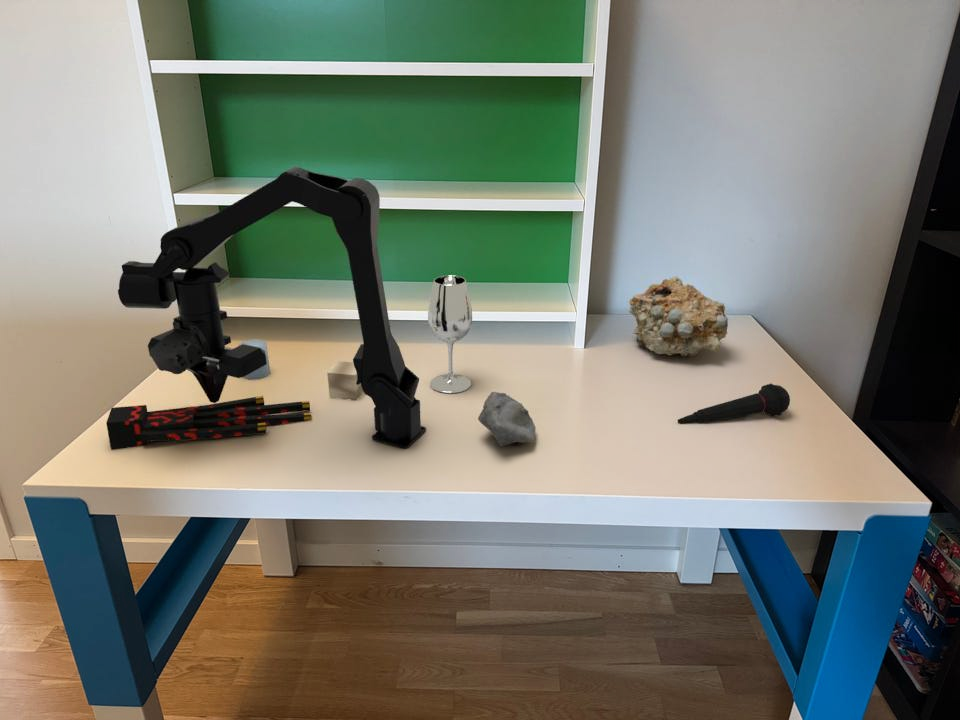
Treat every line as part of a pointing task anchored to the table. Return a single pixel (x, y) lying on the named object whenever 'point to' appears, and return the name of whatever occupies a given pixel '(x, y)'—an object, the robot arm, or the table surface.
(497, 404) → the grey stone
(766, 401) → the microphone
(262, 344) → the grey cylinder
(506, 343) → the table surface
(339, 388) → the beech cube
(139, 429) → the toy
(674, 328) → the rock
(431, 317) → the wineglass
